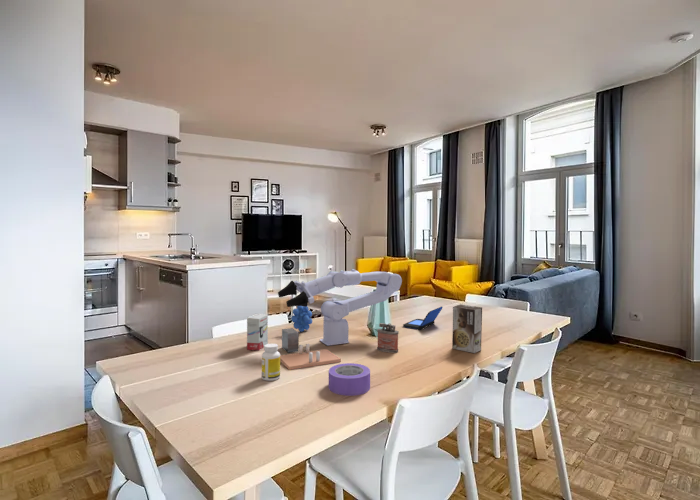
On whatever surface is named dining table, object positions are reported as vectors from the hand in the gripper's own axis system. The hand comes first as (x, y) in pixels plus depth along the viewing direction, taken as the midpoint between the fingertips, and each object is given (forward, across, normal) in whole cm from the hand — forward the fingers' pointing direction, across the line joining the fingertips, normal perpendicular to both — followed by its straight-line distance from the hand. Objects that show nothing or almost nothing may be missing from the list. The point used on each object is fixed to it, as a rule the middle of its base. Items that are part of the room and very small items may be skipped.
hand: (282, 299), depth 145 cm
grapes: (-10, -11, +27) cm, 31 cm away
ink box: (+12, -1, +17) cm, 21 cm away
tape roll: (0, +46, +5) cm, 46 cm away
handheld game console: (-62, +7, +37) cm, 72 cm away
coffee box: (-54, +40, +23) cm, 71 cm away
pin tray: (+1, +21, +13) cm, 25 cm away
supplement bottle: (+17, +29, +5) cm, 34 cm away
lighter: (-27, +26, +20) cm, 43 cm away
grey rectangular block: (+3, +8, +17) cm, 19 cm away
